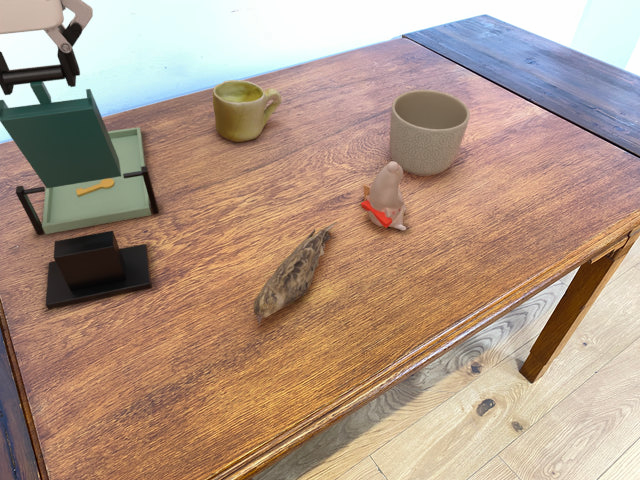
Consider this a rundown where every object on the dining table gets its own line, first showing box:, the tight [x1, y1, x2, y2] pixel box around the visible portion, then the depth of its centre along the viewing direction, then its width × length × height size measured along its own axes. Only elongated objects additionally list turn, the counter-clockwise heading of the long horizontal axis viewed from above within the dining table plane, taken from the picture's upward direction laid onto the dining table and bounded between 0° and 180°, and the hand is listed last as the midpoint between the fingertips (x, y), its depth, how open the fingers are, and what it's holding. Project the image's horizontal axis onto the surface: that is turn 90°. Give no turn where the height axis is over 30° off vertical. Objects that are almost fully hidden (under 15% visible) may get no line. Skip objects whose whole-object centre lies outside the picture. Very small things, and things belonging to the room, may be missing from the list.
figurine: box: [360, 160, 407, 231], centre depth 75 cm, size 9×7×12 cm
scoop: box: [0, 63, 121, 189], centre depth 64 cm, size 19×10×4 cm
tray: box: [41, 126, 153, 235], centre depth 84 cm, size 23×15×2 cm, turn 18°
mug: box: [212, 79, 282, 143], centre depth 93 cm, size 12×10×10 cm
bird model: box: [253, 221, 338, 325], centre depth 69 cm, size 21×6×5 cm
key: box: [76, 179, 115, 197], centre depth 82 cm, size 6×2×1 cm, turn 126°
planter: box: [389, 89, 471, 177], centre depth 86 cm, size 12×12×11 cm
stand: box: [15, 165, 160, 310], centre depth 70 cm, size 16×17×8 cm
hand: (41, 83), depth 59 cm, fingers closed on scoop, 6 cm apart
